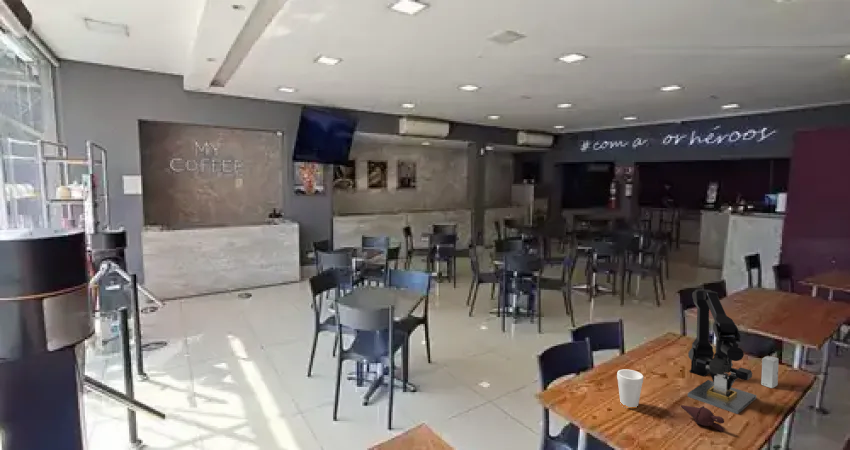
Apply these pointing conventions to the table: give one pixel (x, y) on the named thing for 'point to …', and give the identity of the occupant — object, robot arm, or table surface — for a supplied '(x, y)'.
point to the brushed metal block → (721, 384)
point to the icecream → (704, 417)
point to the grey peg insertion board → (722, 397)
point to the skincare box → (769, 372)
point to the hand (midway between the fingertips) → (722, 387)
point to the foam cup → (629, 387)
